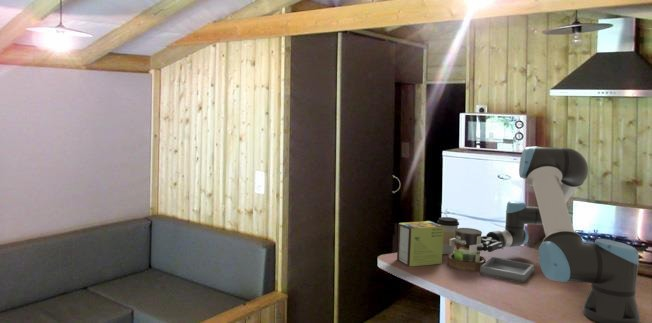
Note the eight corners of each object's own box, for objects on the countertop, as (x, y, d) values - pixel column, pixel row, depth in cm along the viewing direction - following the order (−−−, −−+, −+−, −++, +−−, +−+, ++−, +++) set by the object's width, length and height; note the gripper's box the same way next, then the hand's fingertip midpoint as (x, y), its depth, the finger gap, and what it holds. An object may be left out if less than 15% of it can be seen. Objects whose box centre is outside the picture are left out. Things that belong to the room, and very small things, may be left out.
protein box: (442, 263, 204) (444, 226, 203) (409, 267, 199) (411, 228, 197) (428, 256, 214) (429, 220, 212) (396, 259, 208) (397, 222, 207)
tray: (523, 283, 183) (524, 275, 183) (480, 274, 192) (480, 266, 192) (533, 272, 197) (534, 264, 196) (492, 264, 205) (492, 257, 205)
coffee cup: (458, 256, 215) (460, 222, 213) (435, 254, 217) (437, 220, 215) (456, 250, 224) (458, 217, 223) (435, 249, 226) (437, 216, 225)
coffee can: (464, 270, 197) (467, 234, 195) (448, 262, 206) (449, 228, 204) (485, 267, 201) (487, 232, 199) (467, 260, 210) (469, 226, 209)
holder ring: (478, 272, 194) (478, 265, 193) (443, 265, 202) (443, 258, 201) (489, 264, 205) (489, 257, 205) (455, 257, 213) (456, 250, 213)
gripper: (520, 255, 202) (481, 262, 191) (477, 242, 222) (439, 247, 210) (521, 237, 202) (482, 243, 190) (478, 225, 221) (440, 230, 210)
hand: (459, 245), depth 200 cm, fingers closed on coffee can, 10 cm apart
